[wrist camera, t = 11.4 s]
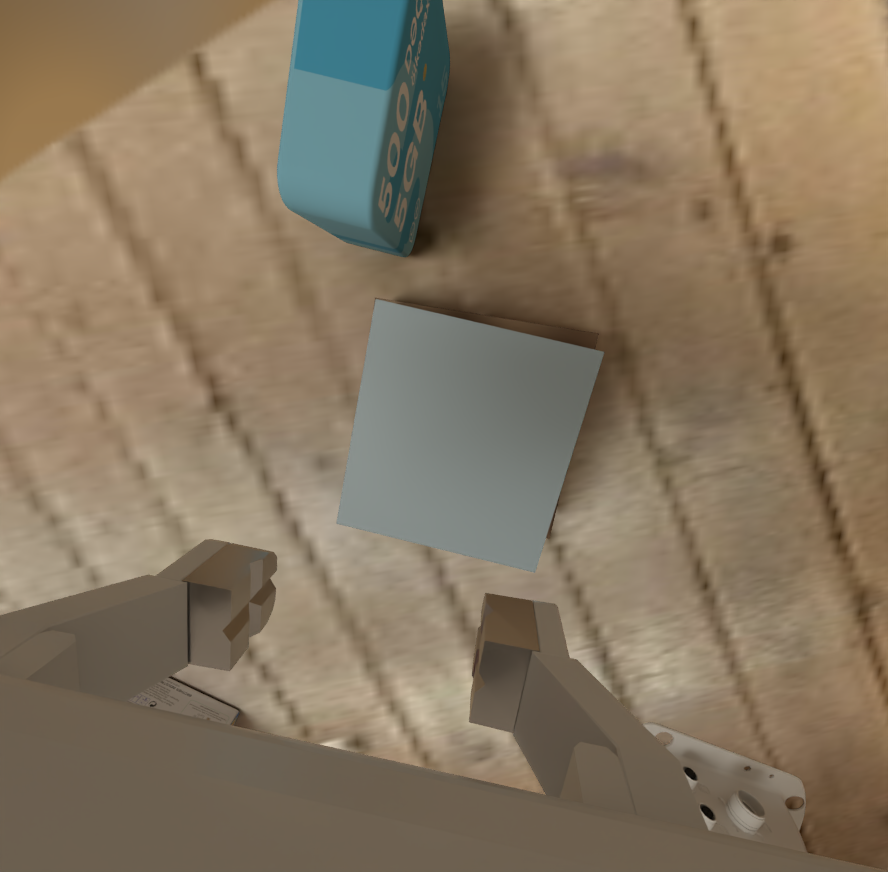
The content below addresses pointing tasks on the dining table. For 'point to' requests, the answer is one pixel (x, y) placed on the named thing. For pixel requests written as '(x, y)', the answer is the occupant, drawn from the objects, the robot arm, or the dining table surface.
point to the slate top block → (463, 434)
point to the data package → (363, 117)
